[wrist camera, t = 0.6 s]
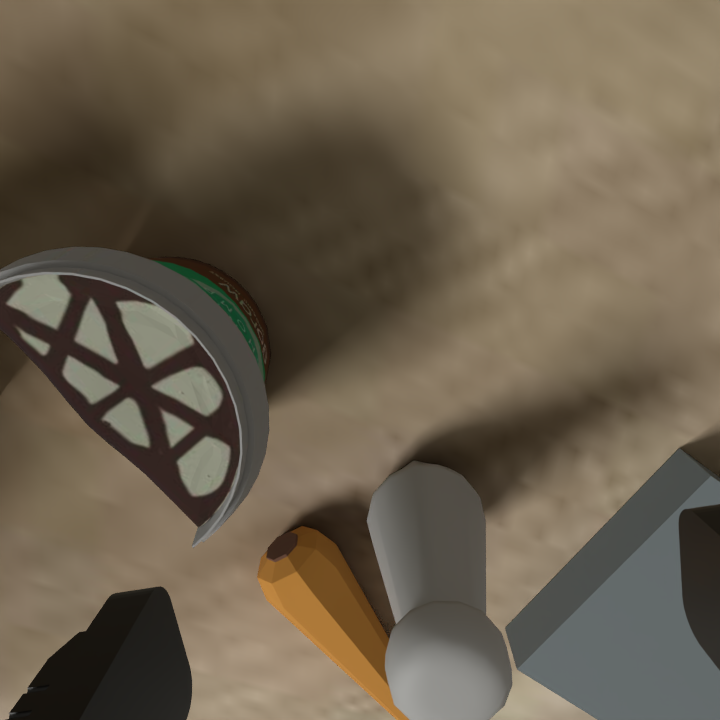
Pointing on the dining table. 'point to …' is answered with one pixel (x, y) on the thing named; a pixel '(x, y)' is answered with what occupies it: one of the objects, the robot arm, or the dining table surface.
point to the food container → (152, 365)
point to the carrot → (328, 607)
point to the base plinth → (626, 613)
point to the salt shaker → (437, 596)
